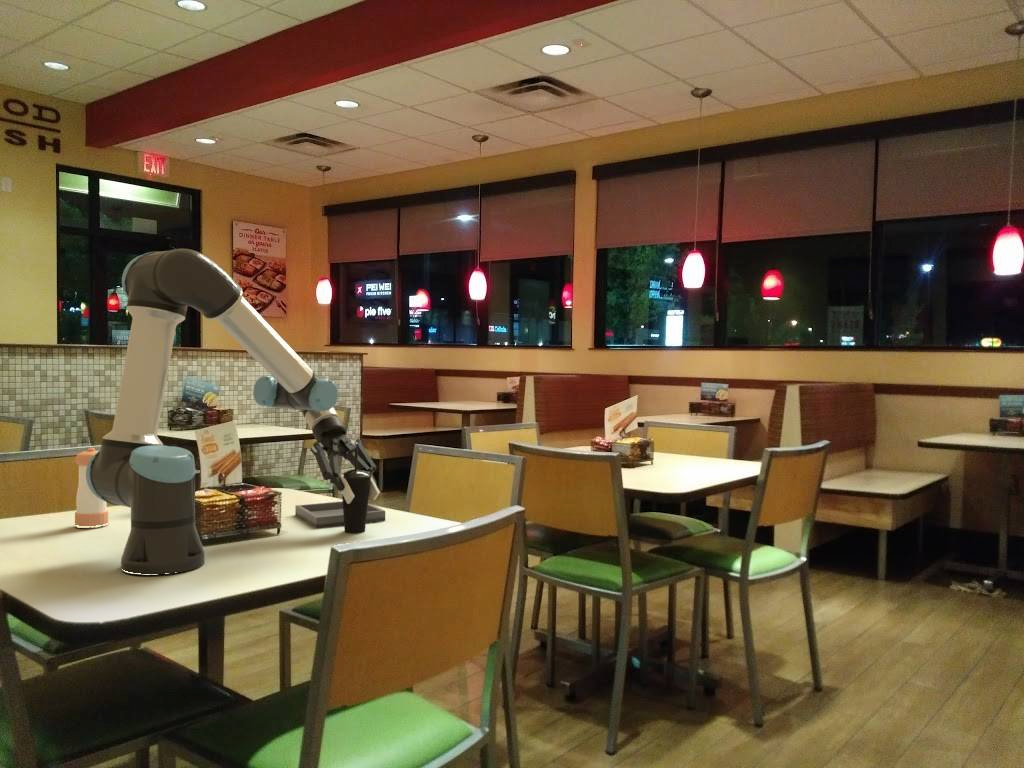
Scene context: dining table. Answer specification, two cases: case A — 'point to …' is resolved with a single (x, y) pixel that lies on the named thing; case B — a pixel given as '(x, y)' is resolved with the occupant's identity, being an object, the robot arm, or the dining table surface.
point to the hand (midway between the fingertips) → (363, 498)
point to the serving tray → (333, 514)
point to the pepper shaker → (88, 496)
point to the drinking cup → (356, 498)
